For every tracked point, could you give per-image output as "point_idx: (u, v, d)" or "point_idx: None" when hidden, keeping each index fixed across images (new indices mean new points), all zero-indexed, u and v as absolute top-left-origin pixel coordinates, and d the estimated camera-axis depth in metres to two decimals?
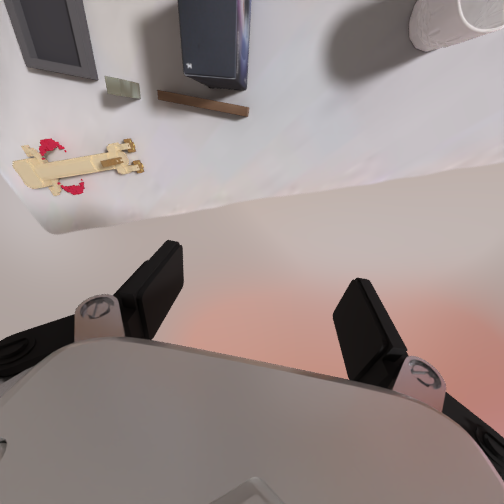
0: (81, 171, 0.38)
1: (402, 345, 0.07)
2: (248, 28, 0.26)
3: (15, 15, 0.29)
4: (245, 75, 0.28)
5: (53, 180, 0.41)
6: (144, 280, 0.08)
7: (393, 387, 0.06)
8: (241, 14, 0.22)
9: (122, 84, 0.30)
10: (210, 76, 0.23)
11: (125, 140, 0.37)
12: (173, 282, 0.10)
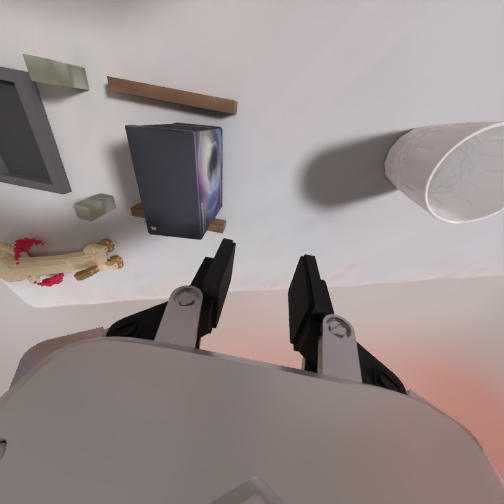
0: (58, 271, 0.37)
1: (324, 305, 0.08)
2: (218, 171, 0.25)
3: None
4: (218, 206, 0.28)
5: None
6: (218, 273, 0.09)
7: (322, 354, 0.07)
8: (205, 185, 0.21)
9: (93, 210, 0.29)
10: (176, 236, 0.23)
11: (102, 242, 0.36)
12: (228, 277, 0.11)
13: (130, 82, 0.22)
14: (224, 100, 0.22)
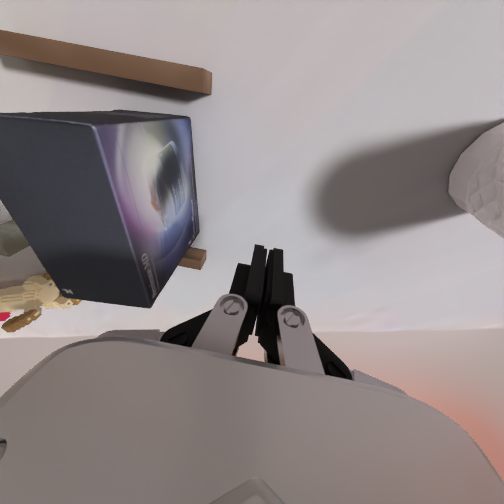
0: None
1: (281, 296, 0.08)
2: (184, 188, 0.16)
3: None
4: (189, 238, 0.18)
5: None
6: (258, 281, 0.09)
7: (283, 351, 0.07)
8: (148, 222, 0.12)
9: (9, 240, 0.20)
10: None
11: (47, 276, 0.27)
12: None
13: (22, 37, 0.13)
14: (185, 68, 0.13)
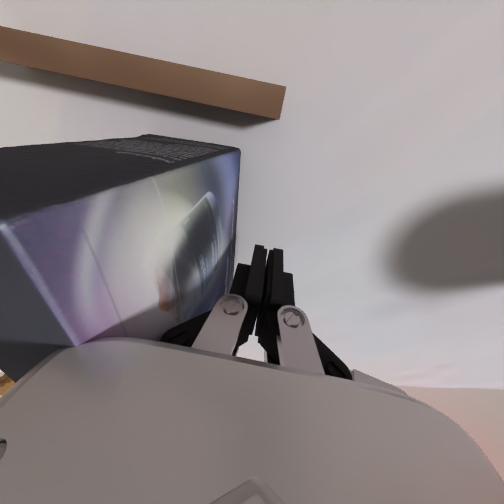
0: None
1: (281, 296, 0.08)
2: (219, 249, 0.11)
3: None
4: None
5: None
6: (258, 281, 0.09)
7: (283, 350, 0.07)
8: (150, 337, 0.07)
9: None
10: None
11: None
12: None
13: (24, 35, 0.09)
14: (260, 85, 0.09)
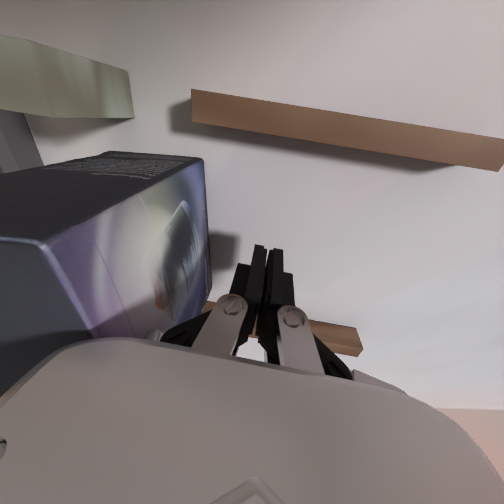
0: None
1: (281, 296, 0.08)
2: (197, 251, 0.12)
3: None
4: (202, 305, 0.14)
5: None
6: (258, 281, 0.09)
7: (283, 351, 0.07)
8: None
9: None
10: None
11: None
12: None
13: (249, 102, 0.09)
14: (492, 141, 0.09)
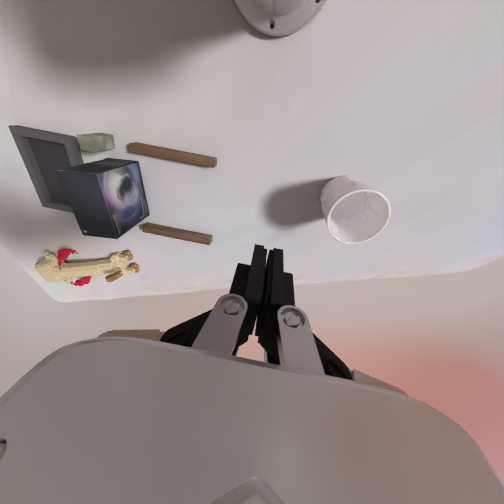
0: (89, 274, 0.48)
1: (281, 296, 0.08)
2: (135, 191, 0.37)
3: (36, 179, 0.40)
4: (140, 215, 0.39)
5: None
6: (258, 281, 0.09)
7: (283, 350, 0.07)
8: (115, 203, 0.32)
9: None
10: (101, 236, 0.34)
11: (124, 253, 0.47)
12: None
13: (144, 147, 0.34)
14: (207, 159, 0.33)
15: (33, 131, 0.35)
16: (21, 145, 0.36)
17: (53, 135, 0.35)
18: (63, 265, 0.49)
